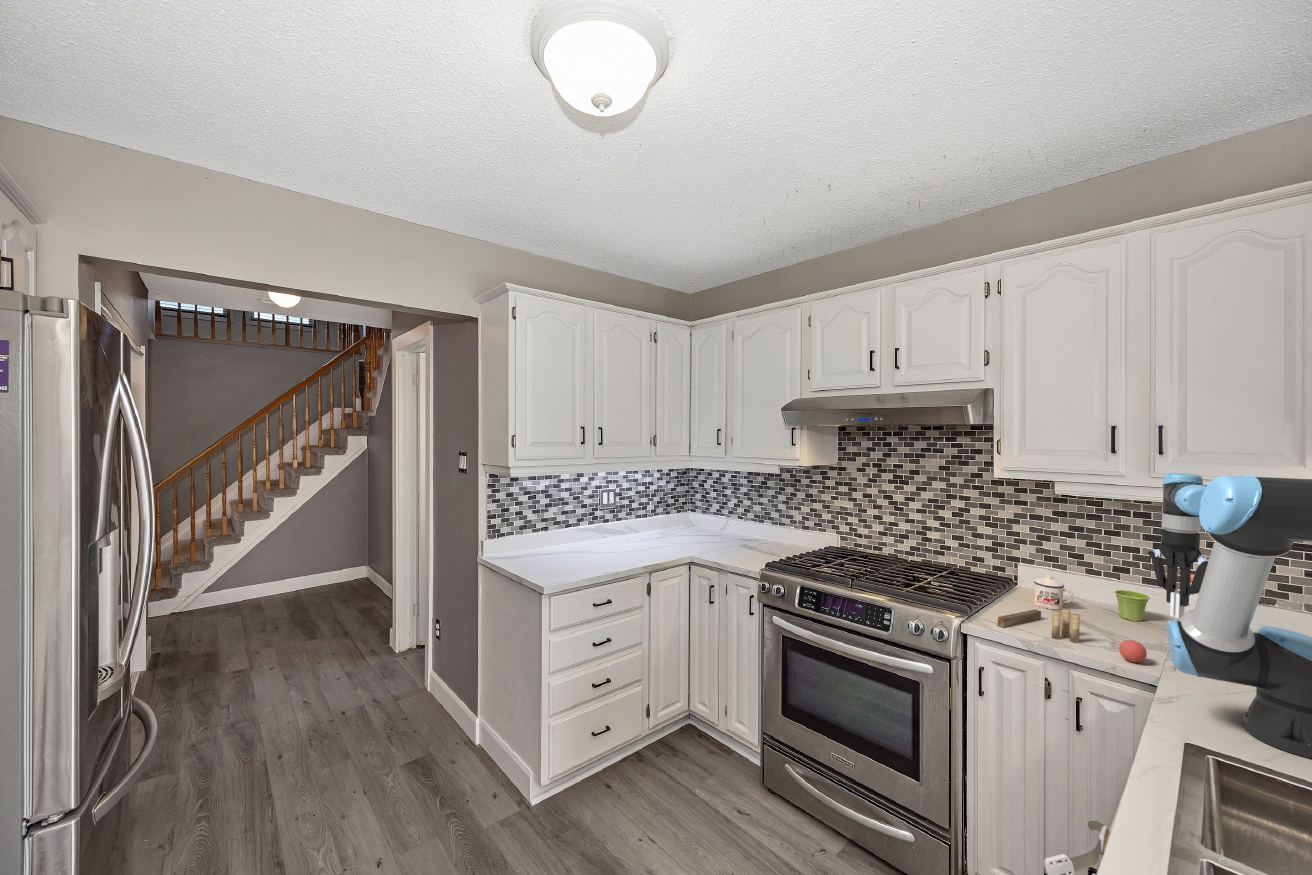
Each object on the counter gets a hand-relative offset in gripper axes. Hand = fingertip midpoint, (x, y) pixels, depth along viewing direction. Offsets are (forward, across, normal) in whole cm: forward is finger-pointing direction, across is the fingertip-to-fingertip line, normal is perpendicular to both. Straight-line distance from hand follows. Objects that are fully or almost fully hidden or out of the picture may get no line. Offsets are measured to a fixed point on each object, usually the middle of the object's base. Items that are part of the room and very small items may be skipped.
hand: (1176, 616), depth 147 cm
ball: (+13, +9, 0) cm, 16 cm away
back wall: (+16, +41, 0) cm, 45 cm away
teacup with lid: (+17, +47, -28) cm, 57 cm away
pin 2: (+16, +28, -2) cm, 33 cm away
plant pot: (+17, +29, -42) cm, 53 cm away
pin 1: (+16, +28, +3) cm, 33 cm away
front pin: (+16, +24, 0) cm, 29 cm away
